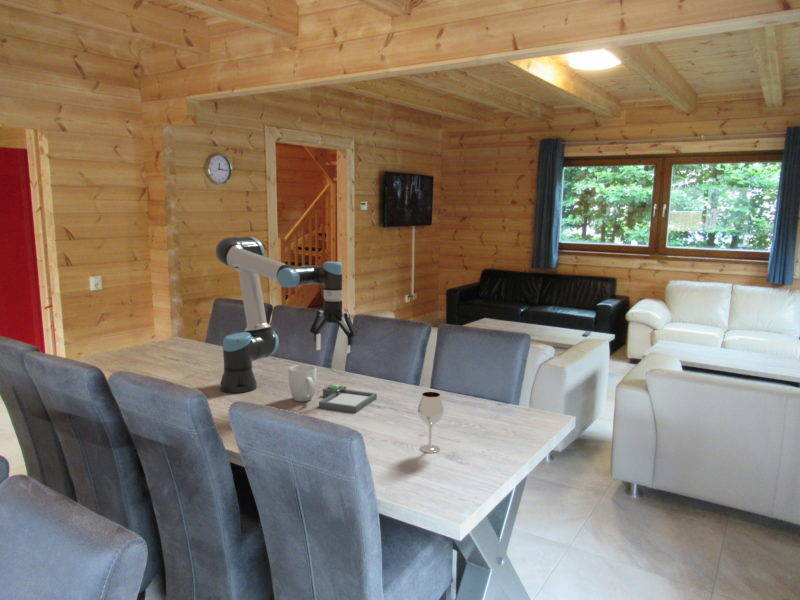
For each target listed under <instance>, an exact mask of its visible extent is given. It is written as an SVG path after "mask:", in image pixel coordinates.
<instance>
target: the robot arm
mask: <svg viewBox="0 0 800 600" xmlns="http://www.w3.org/2000/svg"><path fill="white" fill-rule="evenodd" d="M215 256H216V258H217V260H218V261H219V262H220V263H222V264H223V265H225V266H228V267H231V268H233V269H234V271H236V272H237V273H238V276H239V278H238V279H239V284H240V285H239V286H240V290H241V296H242V297H241V298H242V302H243V307H244V308H243V309H244V315H245V321H246V327H245V328H244V331H239V332H233V333H229V334H227V335H226V336H225V337H223V342H222V343H223V344H222V352H223V353H222V354H223V357H222V358H223V373H222V375H221V376H222V377H221V380H220V383H219V389H220V391H221V392H223V393H229V394H240V393H247V392H252V391H253V390H254V391H255V390H256V389H257V388H258V386H257V385H258V382H257V380H256V377H255V374H254V371H253V361H256V360H259V359H264V358H268V357H270V356H272V355H274V354H275V353H276V352H277V350H278V349H279V345H280V344H279V342H280V340H279V336H278V334H277V333H276V332H275V331H274V330H272V325H271V324H269V323H268V321H267V317H266V310H265V304H264V303H265V302H264V297H263V291H262V285H261V278H260V276H262V277H265V278H268V279H270V280H273V281H275V282H278V284H279V285H280V286H281V287H283V288H294V287H301V286H307V285H308V286H309V285H323V300H324V301H323V310H322V309H320V310H317V312H316V316H315V319H314V321H313V322H312V325H311V328H310V329H309V332H310V333H312V334H313V339H314V340H313V341H314V342H315V350H316V351H320V350H321V349H322V347H321V346H322V343H321V342H322V341H321V340H322V337H321V336H322V334H321V333H320V332H321V331H322V330H323V328H325V326H326V325H327V324H328V323H330V324H331V323H333V324H337V325H338V326H339V327H340V328H341V330H342V331H343V332H344V334H345V335H346V337H345V354H349V353H351V346H352V345H353V337H355V336H357V334H358V333H357V331H356V329H355V327H354V324H353V321H352V319H351V315H350V313H349V312H343V301H342V299H343V273H344V272H343V265H342V263H341V262H340V261H325V262H324V263H323V266H321V265H319V266H318V265H312V264H305V265H301V266H291V265H289V264H287V263H283V262H280V261H277V260H276V259H272V258H269V257H267V256H265V249H264V246H263V244H262V242H261V241H260V240H259V239H257V238H256V237H252V236H251V237H250V236H237V237H235V236H234V237H233V236H232V237H231V236H229V237H224V238H223V239H221V240H220V241H218V242H217V244H216V246H215ZM322 317H324V318H323V319H322ZM321 319H322V321H321ZM343 319H344V320H343ZM320 321H321V322H320ZM344 321H345V322H344ZM319 323H320V324H319Z"/></svg>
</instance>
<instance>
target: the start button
mask: <svg viewBox="0 0 800 600" xmlns="http://www.w3.org/2000/svg"><path fill="white" fill-rule="evenodd" d="M329 386H330V389H332V390H338V389H339V386H340V384H339V383H331V384H329Z"/></svg>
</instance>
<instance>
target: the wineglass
mask: <svg viewBox="0 0 800 600" xmlns="http://www.w3.org/2000/svg"><path fill="white" fill-rule="evenodd" d="M442 400H443V399H442V397H441V393H439V392H436V391H426V392H422V393H421V397H420V399H419V404H418V408H417V415H418V417H419V418H420V420H421V421H422V422H423V423H425V425H427V426H428V444H424V445H421V446H420V448H419V450H420V451H421V452H423V453H427V454H435V453H439V452H440V451H441V450H440V449H441V448H440V447H439V446H437V445H435V444H432V434H433V433H432V430H433V426H434V425H436V424H437V423H438V422H440V421H441V419H443V416H444V413H445V411H444V405H443V401H442Z"/></svg>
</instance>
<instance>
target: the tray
mask: <svg viewBox="0 0 800 600" xmlns="http://www.w3.org/2000/svg"><path fill="white" fill-rule="evenodd" d="M377 396H378V395H377V393H375V392H367V391H362V390H361V391H360V390H353V389H347V388H346V389H344V393H342V394H340V395H339V396H337V393H333V394H332V395H330V396H328V397H325V398H323V399H321V400H319V402H318V408H322V409H327V410H328V409H329V410H334V411H335V410H336V411H341V412H350V413H358V412H360V411H361V410H362V409H364V408H365V407H367V406H368V405H369V404H372V402H374V401H375V400H377V399H378V398H377Z"/></svg>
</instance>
